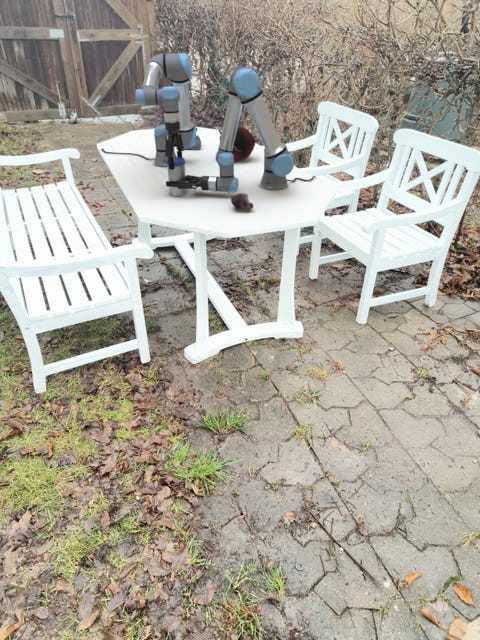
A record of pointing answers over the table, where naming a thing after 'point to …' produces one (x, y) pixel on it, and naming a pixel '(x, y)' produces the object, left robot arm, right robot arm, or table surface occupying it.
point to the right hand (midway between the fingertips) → (169, 180)
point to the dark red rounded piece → (242, 144)
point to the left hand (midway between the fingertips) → (176, 166)
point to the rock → (241, 202)
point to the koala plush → (197, 143)
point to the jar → (175, 176)
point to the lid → (177, 161)
